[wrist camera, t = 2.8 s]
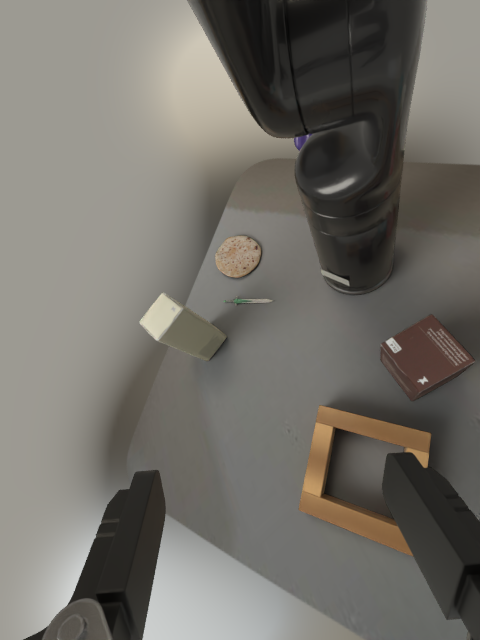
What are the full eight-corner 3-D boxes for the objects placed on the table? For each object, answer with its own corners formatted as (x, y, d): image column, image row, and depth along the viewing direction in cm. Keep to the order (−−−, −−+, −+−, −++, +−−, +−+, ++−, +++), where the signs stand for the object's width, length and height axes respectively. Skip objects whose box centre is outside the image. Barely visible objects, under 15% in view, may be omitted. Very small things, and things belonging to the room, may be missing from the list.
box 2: (459, 376, 36) (478, 362, 29) (411, 402, 36) (419, 394, 30) (422, 333, 38) (432, 312, 32) (378, 358, 39) (379, 343, 33)
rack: (322, 407, 40) (319, 404, 37) (426, 433, 35) (431, 433, 32) (303, 505, 37) (298, 510, 34) (414, 549, 32) (417, 558, 30)
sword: (223, 306, 51) (222, 306, 50) (224, 296, 51) (222, 295, 50) (274, 306, 48) (273, 305, 47) (275, 295, 48) (274, 294, 47)
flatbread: (270, 258, 51) (269, 255, 50) (233, 287, 51) (231, 284, 50) (242, 228, 54) (241, 225, 53) (208, 256, 54) (206, 253, 54)
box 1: (210, 322, 50) (163, 288, 39) (228, 337, 48) (185, 306, 37) (189, 348, 50) (136, 321, 39) (207, 364, 48) (156, 341, 37)
